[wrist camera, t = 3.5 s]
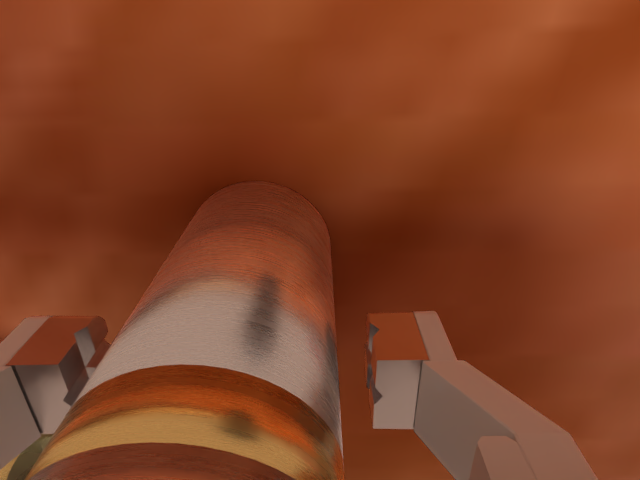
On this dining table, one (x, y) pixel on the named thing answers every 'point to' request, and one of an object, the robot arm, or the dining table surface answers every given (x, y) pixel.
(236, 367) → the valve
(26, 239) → the dining table surface
